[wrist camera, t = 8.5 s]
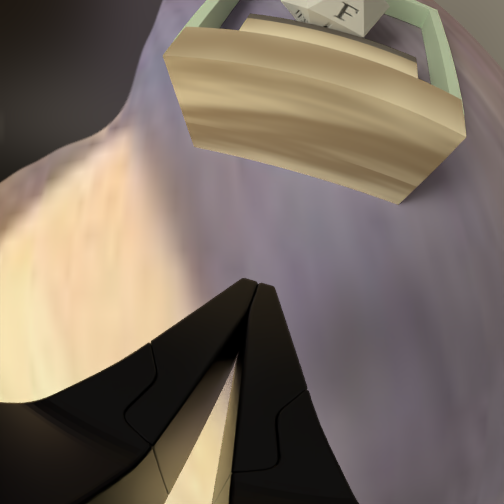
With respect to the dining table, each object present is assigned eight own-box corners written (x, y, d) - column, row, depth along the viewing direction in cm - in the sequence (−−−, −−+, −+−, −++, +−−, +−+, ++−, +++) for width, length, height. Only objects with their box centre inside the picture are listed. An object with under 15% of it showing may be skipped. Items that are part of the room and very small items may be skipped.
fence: (447, 134, 20) (464, 114, 17) (180, 66, 22) (173, 40, 19) (429, 27, 23) (437, 10, 20) (243, -19, 25) (242, -38, 22)
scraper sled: (397, 205, 18) (466, 137, 10) (194, 148, 20) (162, 55, 11) (404, 80, 21) (439, 10, 13) (251, 38, 22) (248, -39, 14)
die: (263, 33, 23) (297, -5, 14) (288, -28, 21) (326, -72, 12) (339, 66, 26) (396, 48, 17) (358, 5, 23) (411, -23, 14)
